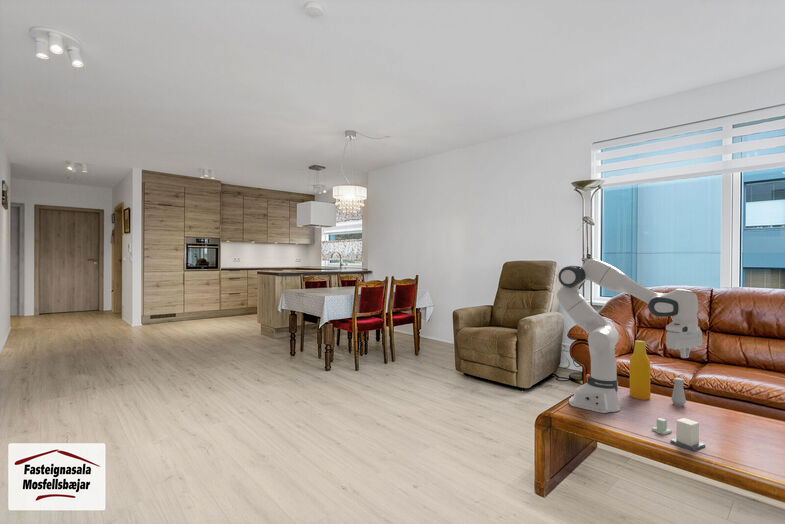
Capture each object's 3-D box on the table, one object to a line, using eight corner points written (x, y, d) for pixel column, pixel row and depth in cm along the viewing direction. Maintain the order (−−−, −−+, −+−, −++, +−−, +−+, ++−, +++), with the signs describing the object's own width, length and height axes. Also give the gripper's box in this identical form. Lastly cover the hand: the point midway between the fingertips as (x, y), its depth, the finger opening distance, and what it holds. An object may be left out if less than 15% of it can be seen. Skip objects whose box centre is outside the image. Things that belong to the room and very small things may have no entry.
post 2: (693, 451, 150) (693, 432, 150) (670, 442, 157) (670, 424, 157) (705, 446, 153) (705, 428, 153) (682, 438, 160) (682, 420, 160)
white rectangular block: (691, 446, 152) (691, 425, 152) (676, 440, 156) (676, 420, 156) (698, 443, 154) (698, 422, 154) (684, 437, 159) (684, 417, 158)
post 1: (664, 434, 163) (664, 422, 163) (651, 430, 168) (651, 418, 168) (671, 432, 166) (671, 420, 165) (659, 427, 170) (659, 416, 170)
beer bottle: (653, 397, 206) (654, 341, 205) (644, 401, 201) (645, 343, 200) (635, 392, 213) (635, 338, 213) (625, 395, 209) (626, 340, 208)
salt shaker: (688, 407, 192) (688, 380, 192) (674, 406, 193) (675, 379, 193) (682, 403, 198) (682, 377, 198) (669, 402, 199) (669, 376, 199)
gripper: (691, 323, 182) (691, 353, 182) (663, 326, 174) (662, 358, 174) (707, 325, 176) (706, 356, 177) (678, 329, 168) (678, 361, 168)
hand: (684, 357), depth 175 cm, fingers closed
